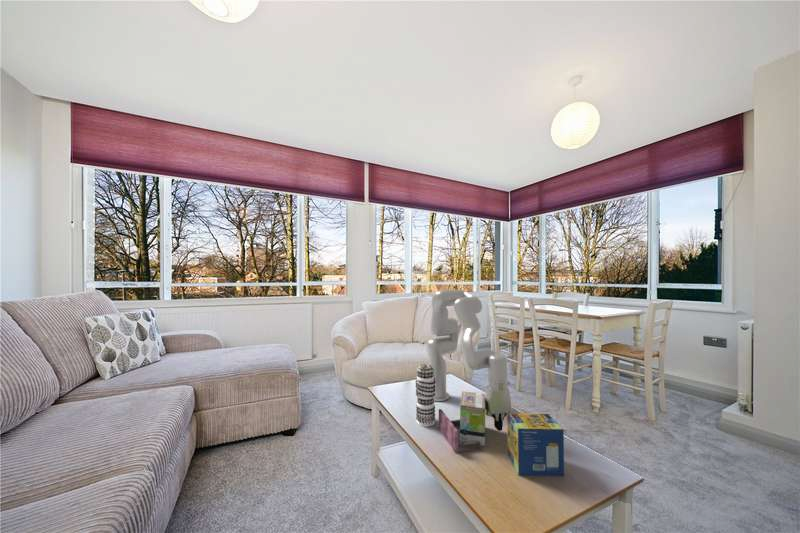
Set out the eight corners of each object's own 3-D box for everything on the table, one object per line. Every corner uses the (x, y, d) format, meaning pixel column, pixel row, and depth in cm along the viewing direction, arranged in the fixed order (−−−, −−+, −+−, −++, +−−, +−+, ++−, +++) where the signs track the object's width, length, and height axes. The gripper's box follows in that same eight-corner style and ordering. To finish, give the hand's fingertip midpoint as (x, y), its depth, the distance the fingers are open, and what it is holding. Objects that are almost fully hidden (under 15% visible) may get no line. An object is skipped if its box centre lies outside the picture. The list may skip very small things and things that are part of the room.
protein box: (507, 456, 106) (506, 413, 106) (549, 456, 105) (549, 413, 106) (517, 476, 95) (517, 428, 96) (565, 476, 95) (564, 428, 95)
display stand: (438, 428, 125) (438, 409, 125) (460, 425, 127) (460, 406, 127) (455, 453, 107) (454, 431, 108) (480, 449, 110) (480, 428, 110)
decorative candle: (440, 423, 129) (439, 366, 130) (423, 429, 124) (422, 370, 125) (428, 414, 137) (427, 361, 138) (411, 419, 132) (411, 364, 133)
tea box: (486, 446, 111) (485, 407, 112) (459, 442, 114) (459, 404, 114) (485, 426, 126) (484, 392, 126) (461, 423, 129) (461, 390, 129)
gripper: (509, 380, 127) (509, 422, 126) (477, 382, 124) (477, 426, 123) (519, 386, 119) (519, 431, 119) (485, 389, 116) (486, 435, 116)
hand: (498, 428), depth 121 cm, fingers closed
